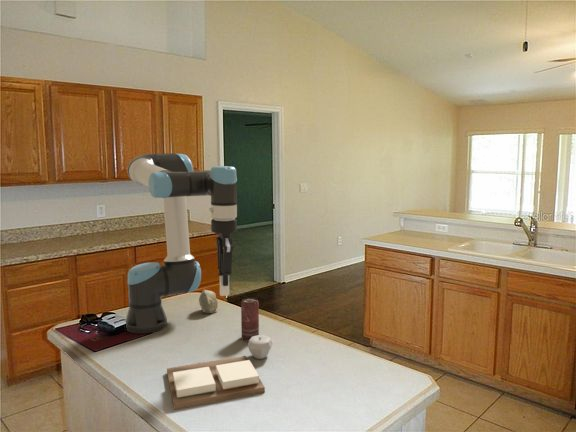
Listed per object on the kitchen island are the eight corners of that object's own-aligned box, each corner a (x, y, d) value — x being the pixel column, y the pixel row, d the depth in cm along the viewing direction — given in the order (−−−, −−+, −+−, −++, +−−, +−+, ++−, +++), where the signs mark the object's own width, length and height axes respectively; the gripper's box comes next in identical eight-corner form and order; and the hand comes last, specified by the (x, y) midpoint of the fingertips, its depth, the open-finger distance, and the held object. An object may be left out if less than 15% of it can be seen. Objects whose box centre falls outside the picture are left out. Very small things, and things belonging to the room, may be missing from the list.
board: (167, 373, 130) (166, 368, 130) (245, 360, 138) (245, 355, 138) (174, 409, 112) (173, 404, 111) (264, 392, 120) (264, 387, 120)
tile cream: (215, 365, 127) (222, 382, 117) (249, 359, 130) (258, 375, 121) (215, 373, 127) (223, 390, 118) (249, 367, 130) (259, 384, 121)
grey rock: (209, 320, 178) (206, 301, 173) (194, 313, 182) (190, 294, 177) (224, 307, 185) (222, 288, 180) (209, 300, 189) (207, 282, 184)
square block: (172, 372, 123) (176, 390, 113) (208, 366, 126) (215, 383, 117) (173, 380, 123) (177, 399, 114) (208, 374, 126) (215, 392, 117)
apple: (274, 361, 138) (274, 341, 137) (248, 363, 137) (248, 343, 136) (270, 350, 146) (270, 331, 145) (246, 352, 144) (246, 332, 143)
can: (257, 342, 152) (256, 303, 150) (239, 340, 153) (238, 301, 151) (261, 335, 158) (261, 297, 156) (244, 333, 159) (244, 296, 157)
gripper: (207, 215, 135) (208, 289, 139) (215, 223, 123) (216, 303, 127) (231, 214, 138) (231, 287, 142) (241, 221, 126) (241, 300, 129)
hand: (224, 294), depth 134 cm, fingers closed
